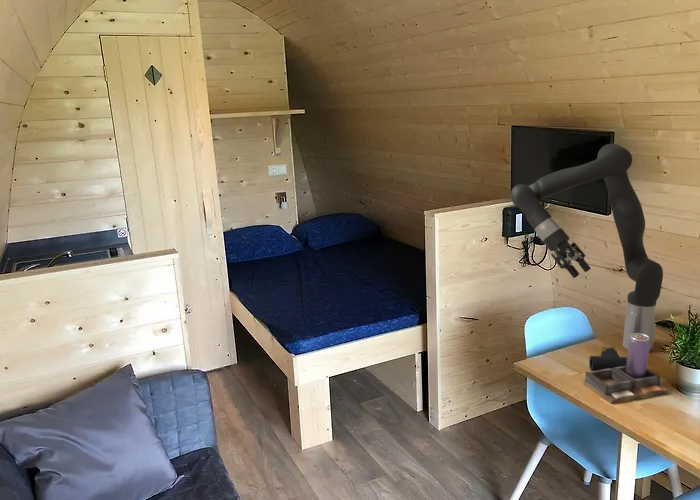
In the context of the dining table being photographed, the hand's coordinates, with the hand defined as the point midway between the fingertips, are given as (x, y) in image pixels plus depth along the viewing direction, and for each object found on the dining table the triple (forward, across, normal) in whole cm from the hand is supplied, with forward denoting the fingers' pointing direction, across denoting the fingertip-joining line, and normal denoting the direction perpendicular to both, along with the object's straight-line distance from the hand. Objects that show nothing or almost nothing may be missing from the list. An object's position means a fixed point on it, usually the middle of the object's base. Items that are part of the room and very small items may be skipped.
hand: (582, 273), depth 191 cm
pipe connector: (+30, +7, +17) cm, 35 cm away
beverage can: (+36, 0, +9) cm, 37 cm away
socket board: (+36, -6, +10) cm, 38 cm away
